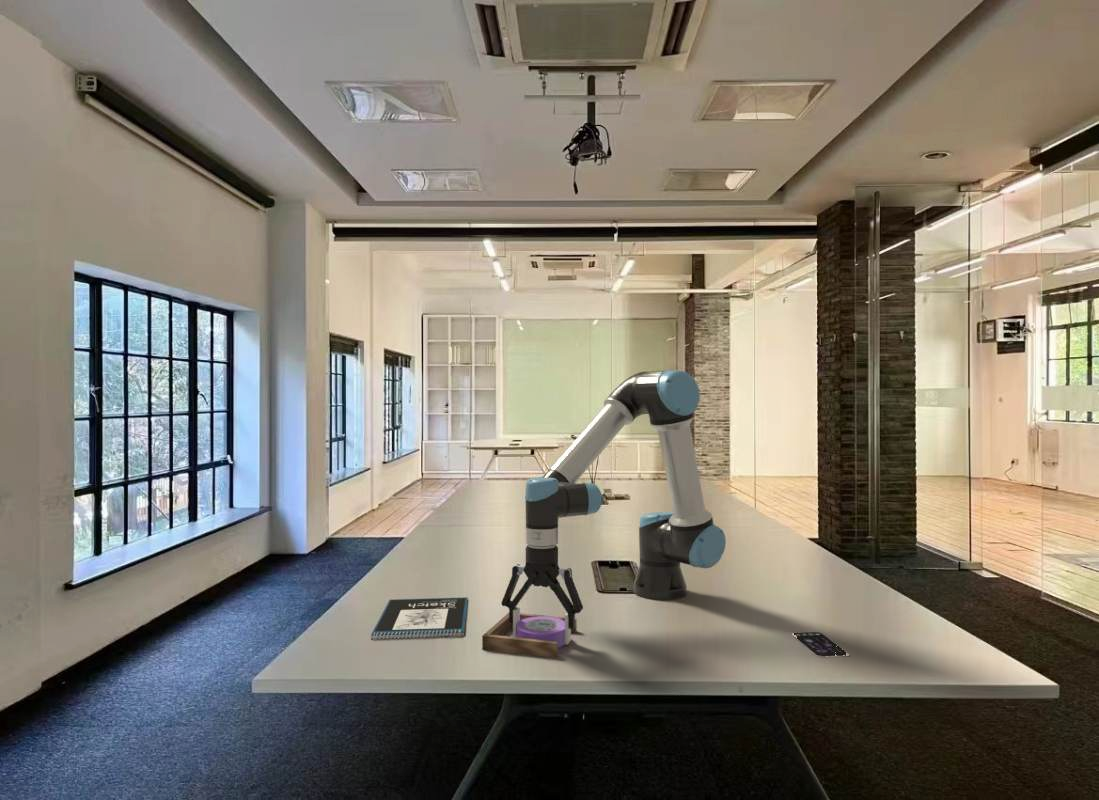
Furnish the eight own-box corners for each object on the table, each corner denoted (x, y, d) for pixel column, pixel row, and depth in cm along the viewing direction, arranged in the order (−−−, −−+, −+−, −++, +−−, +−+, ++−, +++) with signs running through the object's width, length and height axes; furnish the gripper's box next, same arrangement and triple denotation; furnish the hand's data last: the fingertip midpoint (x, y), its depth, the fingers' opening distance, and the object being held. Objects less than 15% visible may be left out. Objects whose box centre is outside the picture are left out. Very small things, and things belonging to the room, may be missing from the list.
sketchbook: (467, 602, 185) (467, 594, 185) (463, 640, 155) (463, 631, 155) (389, 603, 183) (389, 596, 183) (370, 642, 153) (370, 633, 153)
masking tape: (562, 651, 146) (562, 634, 146) (511, 648, 148) (511, 631, 148) (570, 633, 157) (570, 617, 157) (522, 630, 159) (522, 614, 159)
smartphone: (820, 631, 158) (852, 655, 143) (820, 634, 158) (852, 658, 143) (789, 632, 158) (818, 656, 143) (789, 635, 158) (818, 659, 143)
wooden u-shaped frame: (576, 631, 159) (576, 618, 159) (556, 657, 143) (556, 643, 143) (509, 624, 164) (509, 612, 164) (482, 649, 148) (482, 635, 148)
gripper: (487, 545, 153) (487, 639, 153) (588, 552, 146) (588, 650, 146) (499, 538, 160) (499, 628, 160) (596, 545, 153) (596, 639, 153)
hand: (541, 639), depth 153 cm, fingers closed on masking tape, 12 cm apart
